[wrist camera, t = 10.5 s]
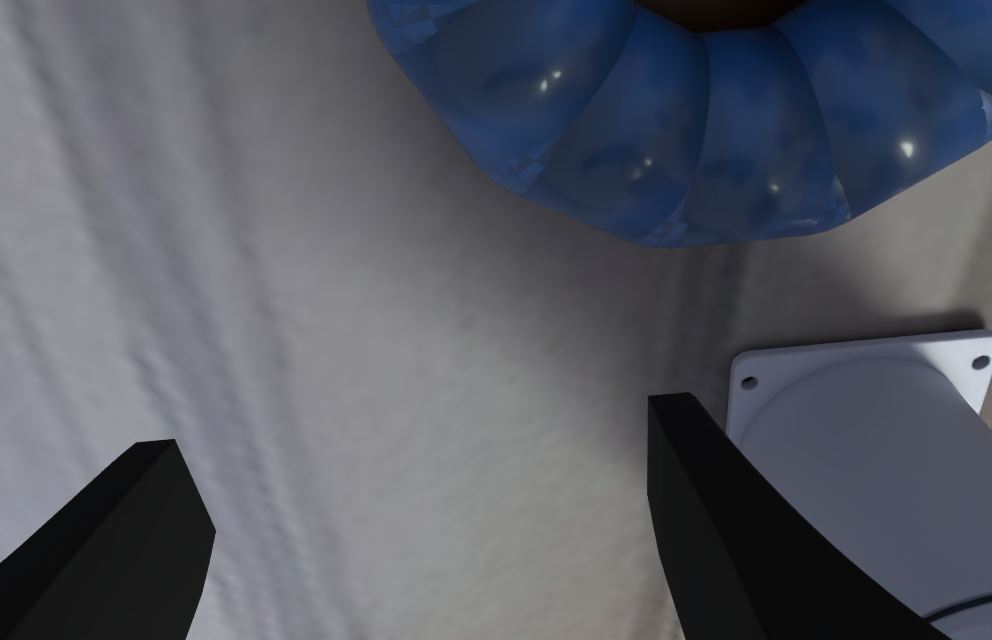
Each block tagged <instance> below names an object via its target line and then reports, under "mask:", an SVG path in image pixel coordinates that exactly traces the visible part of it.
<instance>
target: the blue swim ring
mask: <svg viewBox="0 0 992 640" xmlns="http://www.w3.org/2000/svg"><path fill="white" fill-rule="evenodd" d="M366 4H367V9H368V13H369V15H370V18H371V21H372V23H373V25H374V27H375V30H376V32H377V35H378V36H379V38H380V40H381V42H382V43H383V44H384V46H385V47H386V49H387V50H388V52H389V54H390V55H391V56H392V58H393V59H394V60H395V61H396V63H397V64H398V65H399V67H400V68H401V69H402V71H403V72H404V73H405V74H406V76H407V77H408V78H409V80H410V81H411V82H412V83H413V85H414V86H415V87H416V89H417V90H418V91H419V93H420V94H421V95H422V96H423V98H424V99H425V100H426V102H427V103H428V104H429V106H430V107H431V108H432V109H433V111H434V112H435V113H436V115H437V116H438V117H439V118H440V120H441V121H442V122H443V124H444V125H445V126H446V128H447V129H448V130H449V131H450V133H451V134H452V135H453V137H454V138H455V139H456V140H457V142H458V143H459V144H460V146H461V147H462V148H463V150H464V151H465V152H466V153H467V155H468V156H469V157H470V159H471V160H472V161H473V162H474V163H475V164H476V165H477V166H478V168H479V169H480V170H481V171H482V172H483V173H484V174H485V175H486V176H487V177H489V178H490V179H491V180H492V181H494V182H495V183H496V184H498V185H499V186H501V187H502V188H504V189H505V190H507V191H509V192H512V193H514V194H516V195H518V196H520V197H523V198H525V199H527V200H530V201H532V202H534V203H537V204H539V205H542V206H544V207H546V208H549V209H551V210H554V211H556V212H558V213H561V214H563V215H566V216H568V217H570V218H573V219H575V220H577V221H580V222H582V223H585V224H587V225H589V226H592V227H594V228H597V229H599V230H601V231H604V232H606V233H609V234H611V235H613V236H616V237H618V238H621V239H623V240H625V241H628V242H631V243H633V244H637V245H641V246H645V247H652V248H684V247H694V246H705V245H716V244H726V243H737V242H747V241H758V240H769V239H779V238H790V237H801V236H808V235H812V234H816V233H821V232H825V231H829V230H831V229H833V228H836V227H838V226H840V225H843V224H845V223H847V222H849V221H851V220H852V219H854V218H856V217H858V216H860V215H861V214H863V213H865V212H867V211H869V210H870V209H872V208H874V207H876V206H877V205H879V204H881V203H883V202H885V201H886V200H888V199H890V198H892V197H894V196H895V195H897V194H899V193H901V192H902V191H904V190H906V189H908V188H910V187H911V186H913V185H915V184H917V183H919V182H920V181H922V180H924V179H926V178H927V177H929V176H931V175H933V174H935V173H936V172H938V171H940V170H942V169H944V168H945V167H947V166H949V165H951V164H952V163H954V162H956V161H958V160H960V159H961V158H963V157H965V156H967V155H969V154H970V153H972V152H974V151H976V150H977V149H979V148H981V147H982V146H984V145H985V144H987V143H988V142H989V141H991V140H992V0H806V1H804V2H803V3H801V4H800V5H798V6H797V7H795V8H794V9H792V10H791V11H789V12H788V13H786V14H785V15H783V16H782V17H780V18H779V19H777V20H776V21H774V22H773V23H771V24H770V25H768V26H763V27H753V28H744V29H734V30H725V31H715V32H706V33H694V32H692V31H690V30H688V29H686V28H684V27H682V26H680V25H678V24H676V23H674V22H672V21H670V20H668V19H666V18H664V17H662V16H660V15H658V14H656V13H654V12H652V11H650V10H648V9H646V8H644V7H642V6H641V5H639V4H637V3H635V2H634V0H366Z"/></svg>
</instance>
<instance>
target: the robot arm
mask: <svg viewBox="0 0 992 640" xmlns="http://www.w3.org/2000/svg"><path fill="white" fill-rule="evenodd" d="M979 356H981V358H979V359H978V360H976V361H974V359H976V358H977V357H979ZM747 377H753V379H752V380H750V381H749V382H742V381H743V380H744V379H745V378H747ZM991 377H992V331H991V330H989V329H978V330H967V331H956V332H945V333H935V334H924V335H913V336H902V337H892V338H881V339H870V340H859V341H849V342H838V343H827V344H816V345H806V346H795V347H784V348H773V349H763V350H752V351H746V352H742V353H741V354H739V355H737V356H736V357H735V358H734V360H733V362H732V365H731V374H730V387H729V399H728V411H727V423H726V434H725V433H724V432H723V430H722V429H721V428H720V427H719V426H718V424H717V423H716V422H715V421H714V420H713V418H712V417H711V416H710V415H709V413H708V412H707V411H706V410H705V408H704V407H703V406H702V405H701V403H700V402H699V401H698V399H697V398H696V397H695V396H693V395H692V394H691V393H690V392H685V393H674V394H663V395H652V396H648V455H647V496H648V501H649V506H650V511H651V516H652V522H653V527H654V532H655V537H656V542H657V547H658V552H659V556H660V560H661V563H662V566H663V569H664V573H665V576H666V579H667V582H668V585H669V589H670V592H671V595H672V598H673V601H674V605H675V608H676V611H677V614H678V617H679V620H680V623H681V626H682V630H683V633H684V636H685V639H686V640H992V430H991V429H990V428H989V427H988V426H987V424H986V423H985V422H984V421H983V420H982V419H981V417H980V416H979V414H980V411H981V408H982V405H983V402H984V398H985V395H986V392H987V389H988V386H989V383H990V380H991ZM215 534H216V529H215V527H214V525H213V523H212V521H211V518H210V516H209V514H208V512H207V509H206V507H205V505H204V503H203V501H202V498H201V496H200V494H199V492H198V489H197V487H196V485H195V483H194V481H193V478H192V476H191V474H190V472H189V469H188V467H187V465H186V463H185V461H184V458H183V456H182V454H181V452H180V449H179V447H178V445H177V443H176V441H175V439H168V440H157V441H146V442H136V443H135V444H134V445H132V446H131V447H130V448H129V449H127V450H126V451H125V452H124V453H123V454H121V455H120V456H119V457H118V458H117V459H116V460H115V461H113V462H112V463H111V464H110V465H109V466H108V467H107V468H106V469H104V470H103V471H102V472H101V473H100V474H99V475H98V476H97V477H96V478H94V479H93V480H92V481H91V482H90V483H89V484H88V485H87V486H86V487H85V488H84V489H82V490H81V491H80V492H79V493H78V494H77V495H76V496H75V497H74V498H73V499H72V500H70V501H69V502H68V503H67V504H66V505H65V506H64V507H63V508H62V509H61V510H59V511H58V512H57V513H56V514H55V515H54V516H53V517H52V518H51V519H49V520H48V521H47V522H46V523H45V524H44V525H43V526H42V527H41V528H39V529H38V530H37V531H36V532H35V533H34V534H33V535H32V536H31V537H30V538H28V539H27V540H26V541H25V542H24V543H23V544H22V545H21V546H20V547H18V548H17V549H16V550H15V551H14V552H13V553H11V554H10V555H9V556H8V557H7V558H6V559H4V560H3V561H2V562H1V563H0V640H186V637H187V634H188V631H189V629H190V626H191V623H192V620H193V618H194V615H195V612H196V609H197V607H198V604H199V601H200V598H201V595H202V592H203V587H204V583H205V579H206V575H207V571H208V567H209V563H210V558H211V553H212V548H213V543H214V538H215Z"/></svg>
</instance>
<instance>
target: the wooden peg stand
mask: <svg viewBox="0 0 992 640" xmlns="http://www.w3.org/2000/svg"><path fill="white" fill-rule="evenodd" d="M804 1H806V0H634V2H635V3H637V4H639V5H641V6H642V7H644V8H646V9H648V10H650V11H652V12H654V13H656V14H658V15H660V16H662V17H664V18H666V19H668V20H670V21H672V22H674V23H676V24H678V25H680V26H682V27H684V28H686V29H688V30H690V31H692V32H694V33H706V32H715V31H725V30H734V29H744V28H753V27H763V26H768V25H770V24H771V23H773V22H774V21H776V20H777V19H779V18H780V17H782V16H783V15H785V14H786V13H788V12H789V11H791V10H792V9H794V8H795V7H797V6H798V5H800V4H801V3H803V2H804Z"/></svg>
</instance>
